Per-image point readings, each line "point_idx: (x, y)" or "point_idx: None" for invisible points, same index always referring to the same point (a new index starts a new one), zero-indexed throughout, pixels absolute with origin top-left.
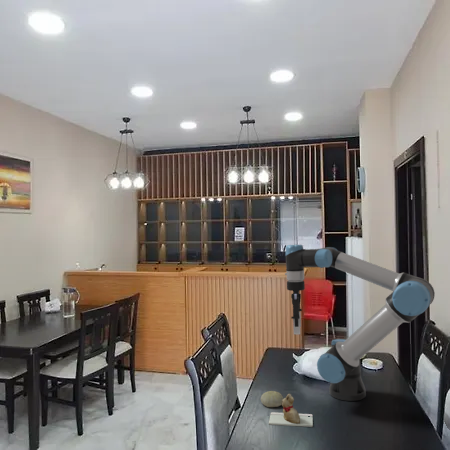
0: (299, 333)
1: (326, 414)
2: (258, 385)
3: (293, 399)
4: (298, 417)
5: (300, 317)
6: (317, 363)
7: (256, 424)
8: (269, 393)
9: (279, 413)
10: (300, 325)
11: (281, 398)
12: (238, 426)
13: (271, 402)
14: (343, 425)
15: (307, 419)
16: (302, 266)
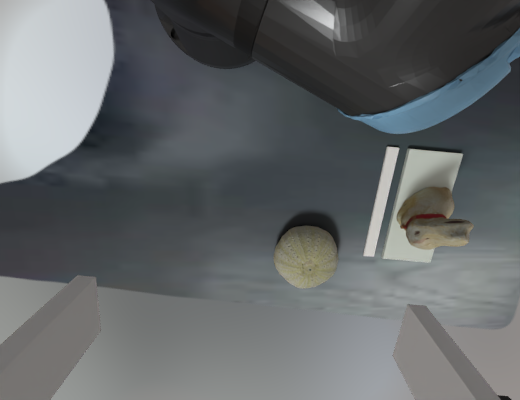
0: (428, 319)
1: None
2: (171, 286)
3: (471, 223)
4: (449, 194)
5: (14, 361)
6: (409, 132)
7: (422, 286)
8: (315, 273)
9: (372, 235)
10: (88, 288)
11: (322, 235)
12: None
13: (337, 260)
14: None
15: (426, 164)
16: None
